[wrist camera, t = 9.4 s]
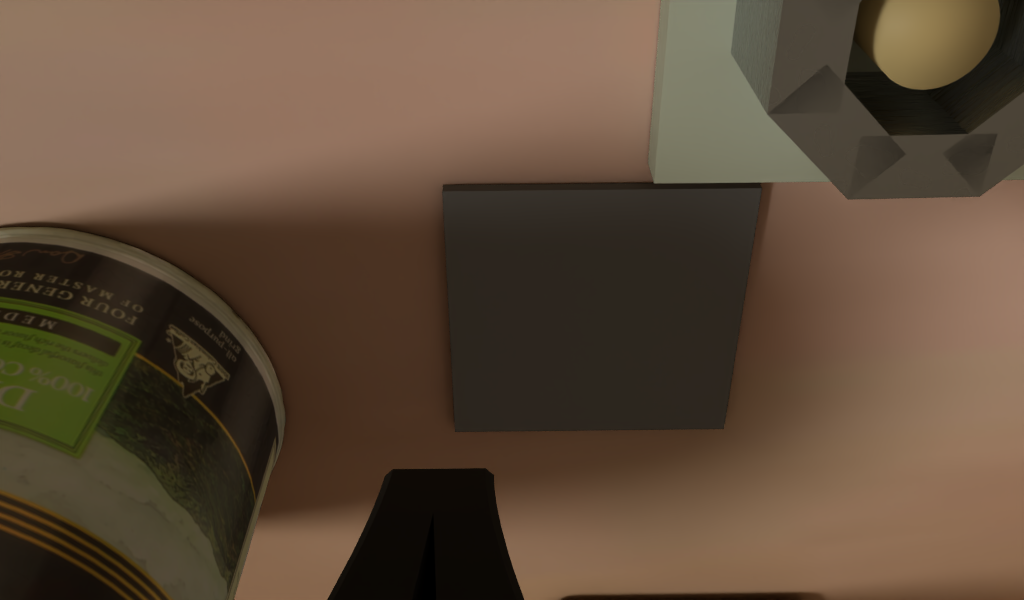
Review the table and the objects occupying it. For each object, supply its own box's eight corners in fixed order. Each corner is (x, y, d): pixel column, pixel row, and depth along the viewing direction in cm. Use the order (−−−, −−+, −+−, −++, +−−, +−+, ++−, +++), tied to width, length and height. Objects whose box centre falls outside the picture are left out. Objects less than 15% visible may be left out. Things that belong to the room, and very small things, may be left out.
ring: (998, 125, 19) (1072, 194, 17) (721, 131, 19) (754, 201, 17) (1086, -183, 16) (1194, -155, 13) (756, -175, 16) (803, -146, 14)
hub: (1012, 158, 21) (1096, 239, 18) (647, 162, 21) (671, 244, 18) (1148, -267, 16) (1290, -252, 13) (682, -263, 16) (722, -248, 13)
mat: (721, 421, 25) (723, 428, 25) (455, 424, 25) (455, 431, 25) (758, 181, 21) (762, 188, 21) (442, 185, 21) (442, 191, 21)
